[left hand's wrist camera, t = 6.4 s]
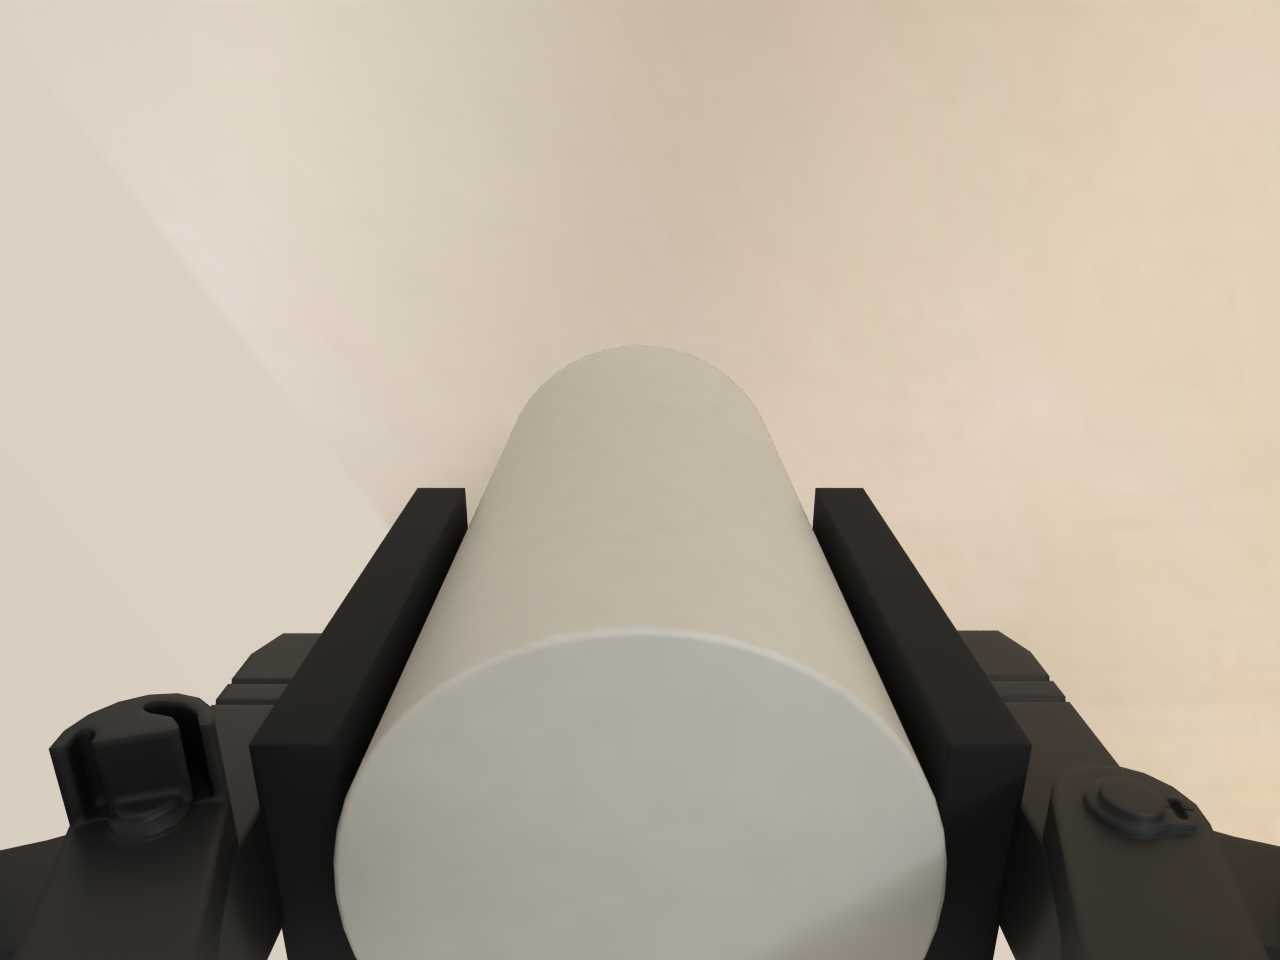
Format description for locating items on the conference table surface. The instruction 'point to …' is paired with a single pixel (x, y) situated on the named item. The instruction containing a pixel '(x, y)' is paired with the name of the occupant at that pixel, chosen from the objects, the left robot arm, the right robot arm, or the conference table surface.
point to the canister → (640, 711)
